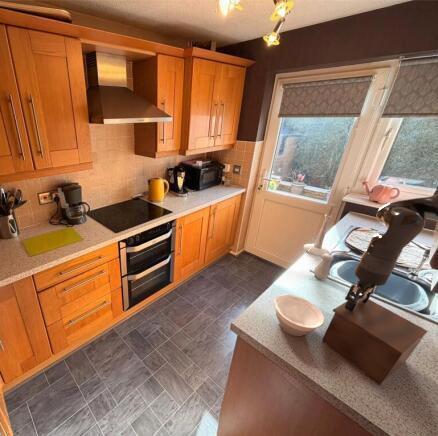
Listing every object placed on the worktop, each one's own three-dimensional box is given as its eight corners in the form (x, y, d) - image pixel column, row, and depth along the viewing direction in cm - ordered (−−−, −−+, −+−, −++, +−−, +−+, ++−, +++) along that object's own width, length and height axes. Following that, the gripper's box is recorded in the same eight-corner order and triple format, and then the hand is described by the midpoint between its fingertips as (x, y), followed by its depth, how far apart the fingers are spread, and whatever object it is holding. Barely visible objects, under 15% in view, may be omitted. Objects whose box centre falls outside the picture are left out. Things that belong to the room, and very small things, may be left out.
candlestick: (302, 243, 145) (317, 198, 133) (327, 248, 140) (345, 201, 127) (304, 252, 135) (320, 205, 122) (331, 258, 129) (350, 209, 117)
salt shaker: (329, 279, 113) (338, 257, 108) (320, 282, 111) (329, 259, 106) (318, 272, 118) (326, 251, 113) (309, 274, 117) (317, 253, 111)
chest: (321, 340, 83) (334, 312, 77) (347, 324, 89) (361, 297, 83) (379, 385, 69) (401, 355, 63) (405, 362, 76) (426, 332, 70)
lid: (332, 310, 78) (337, 299, 75) (358, 295, 84) (364, 284, 82) (401, 355, 63) (409, 342, 61) (426, 332, 70) (435, 320, 68)
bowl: (321, 326, 88) (328, 309, 85) (311, 354, 78) (319, 336, 75) (276, 304, 99) (281, 288, 95) (262, 326, 88) (267, 309, 85)
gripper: (378, 280, 66) (357, 321, 72) (401, 267, 71) (379, 306, 78) (348, 265, 72) (331, 304, 79) (372, 254, 77) (354, 292, 84)
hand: (355, 305), depth 78 cm, fingers open, 8 cm apart
